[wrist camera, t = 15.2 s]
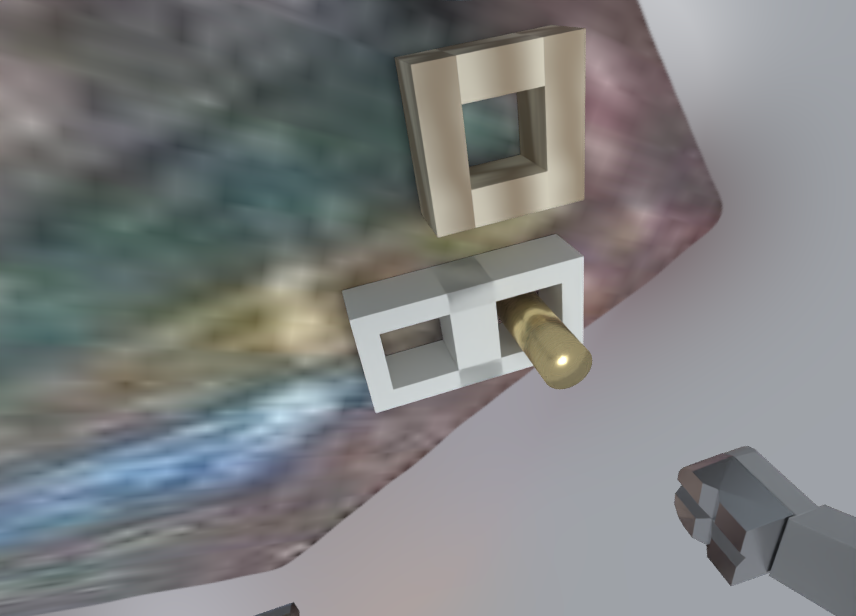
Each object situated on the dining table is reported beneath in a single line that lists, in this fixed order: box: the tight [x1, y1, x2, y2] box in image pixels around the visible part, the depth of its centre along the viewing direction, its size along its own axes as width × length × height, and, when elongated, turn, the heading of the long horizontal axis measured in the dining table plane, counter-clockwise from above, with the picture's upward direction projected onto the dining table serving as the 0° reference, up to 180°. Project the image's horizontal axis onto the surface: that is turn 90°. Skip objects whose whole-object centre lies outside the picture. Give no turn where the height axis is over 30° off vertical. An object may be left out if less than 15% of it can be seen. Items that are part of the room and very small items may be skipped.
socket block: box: [395, 25, 586, 237], centre depth 39 cm, size 12×12×5 cm
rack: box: [342, 234, 584, 413], centre depth 47 cm, size 20×10×5 cm, turn 99°
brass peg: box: [496, 291, 592, 389], centre depth 45 cm, size 4×4×12 cm
